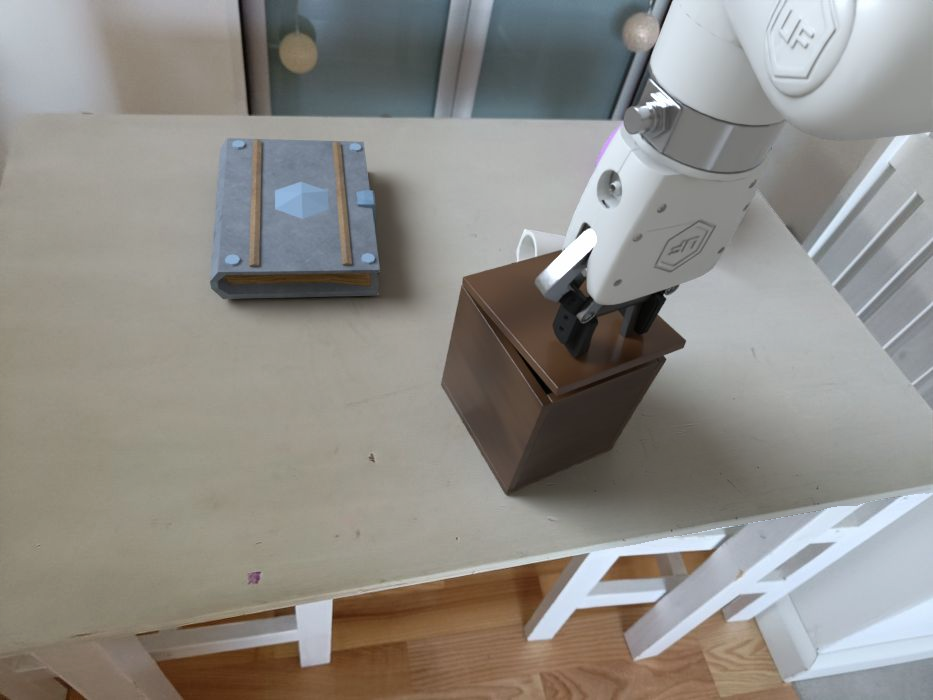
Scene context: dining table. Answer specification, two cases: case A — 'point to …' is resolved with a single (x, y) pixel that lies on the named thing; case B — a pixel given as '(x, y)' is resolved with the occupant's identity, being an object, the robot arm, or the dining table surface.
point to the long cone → (538, 244)
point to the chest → (531, 403)
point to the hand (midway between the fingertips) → (599, 329)
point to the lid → (532, 333)
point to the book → (293, 220)
